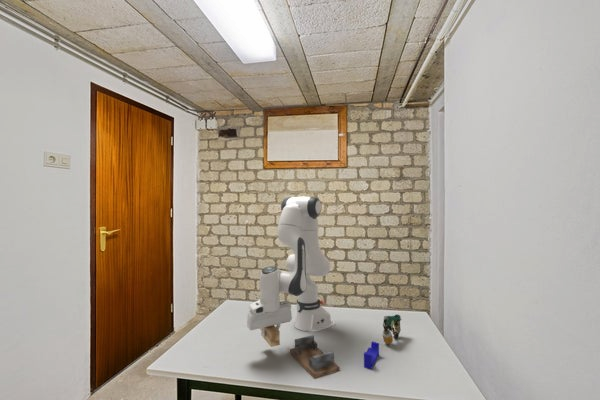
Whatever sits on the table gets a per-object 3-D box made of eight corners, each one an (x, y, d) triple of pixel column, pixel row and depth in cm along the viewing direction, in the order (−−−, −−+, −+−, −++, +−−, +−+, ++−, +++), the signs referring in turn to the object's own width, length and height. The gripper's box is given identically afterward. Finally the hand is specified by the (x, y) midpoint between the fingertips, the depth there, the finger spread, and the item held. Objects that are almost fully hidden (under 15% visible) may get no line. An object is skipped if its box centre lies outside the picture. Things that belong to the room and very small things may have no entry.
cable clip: (368, 353, 135) (369, 340, 135) (378, 356, 132) (379, 343, 132) (360, 366, 124) (360, 352, 124) (371, 370, 122) (371, 355, 122)
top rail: (269, 333, 140) (269, 320, 140) (279, 344, 129) (279, 331, 129) (261, 335, 138) (261, 322, 138) (271, 347, 127) (270, 333, 127)
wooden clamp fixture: (312, 346, 141) (312, 332, 141) (339, 370, 121) (339, 354, 121) (289, 352, 135) (289, 337, 135) (313, 378, 116) (313, 361, 116)
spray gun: (403, 336, 151) (403, 307, 150) (388, 350, 138) (388, 319, 137) (395, 333, 154) (395, 305, 152) (379, 347, 141) (379, 316, 140)
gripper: (288, 298, 141) (288, 327, 141) (245, 305, 131) (246, 337, 132) (294, 302, 135) (294, 332, 135) (250, 310, 126) (250, 343, 126)
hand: (270, 334), depth 134 cm, fingers closed on top rail, 4 cm apart
